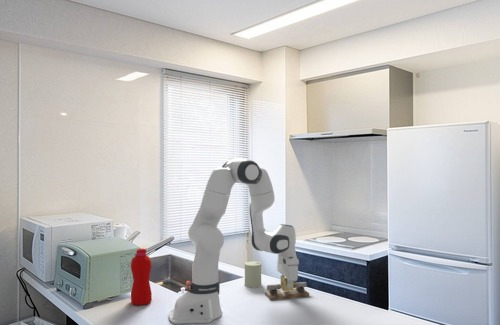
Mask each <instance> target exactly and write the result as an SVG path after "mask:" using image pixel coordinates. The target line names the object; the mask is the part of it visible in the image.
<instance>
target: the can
mask: <svg viewBox="0 0 500 325" xmlns="http://www.w3.org/2000/svg"><path fill="white" fill-rule="evenodd" d="M243 264H244V286H245V287H247V288H250V287H251V289H253V288H254V289H255V288H259V287H262V286H263V284H262V262H260V261H256V260H252V261H246V262H244V263H243Z"/></svg>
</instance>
